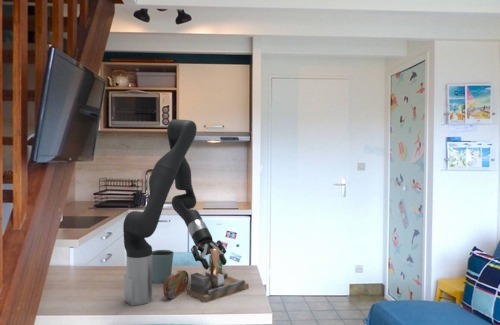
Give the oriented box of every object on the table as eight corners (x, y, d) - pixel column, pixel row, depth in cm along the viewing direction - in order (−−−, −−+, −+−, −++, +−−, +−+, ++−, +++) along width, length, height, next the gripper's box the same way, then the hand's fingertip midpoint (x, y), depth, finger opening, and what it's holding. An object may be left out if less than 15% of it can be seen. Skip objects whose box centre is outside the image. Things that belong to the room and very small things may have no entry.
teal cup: (145, 279, 167) (145, 252, 167) (166, 274, 174) (166, 248, 173) (156, 285, 159) (156, 256, 159) (177, 280, 166) (177, 252, 166)
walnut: (205, 291, 147) (205, 282, 147) (200, 289, 150) (200, 280, 150) (213, 289, 150) (213, 280, 149) (207, 287, 152) (207, 278, 152)
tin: (168, 301, 142) (168, 279, 142) (161, 300, 143) (161, 278, 143) (189, 288, 156) (189, 268, 156) (182, 287, 157) (182, 267, 157)
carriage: (217, 289, 148) (217, 251, 148) (205, 284, 154) (205, 247, 154) (223, 287, 150) (224, 249, 150) (211, 282, 156) (211, 246, 156)
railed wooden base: (205, 302, 142) (205, 281, 141) (186, 293, 150) (186, 273, 150) (248, 288, 157) (248, 268, 157) (229, 280, 165) (229, 262, 165)
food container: (223, 278, 169) (223, 256, 168) (209, 278, 169) (209, 255, 168) (225, 269, 181) (225, 248, 181) (212, 269, 181) (212, 248, 181)
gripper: (188, 229, 152) (206, 264, 144) (217, 225, 162) (234, 257, 154) (181, 240, 156) (197, 275, 148) (209, 235, 166) (226, 267, 158)
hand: (216, 266), depth 151 cm, fingers open, 8 cm apart
